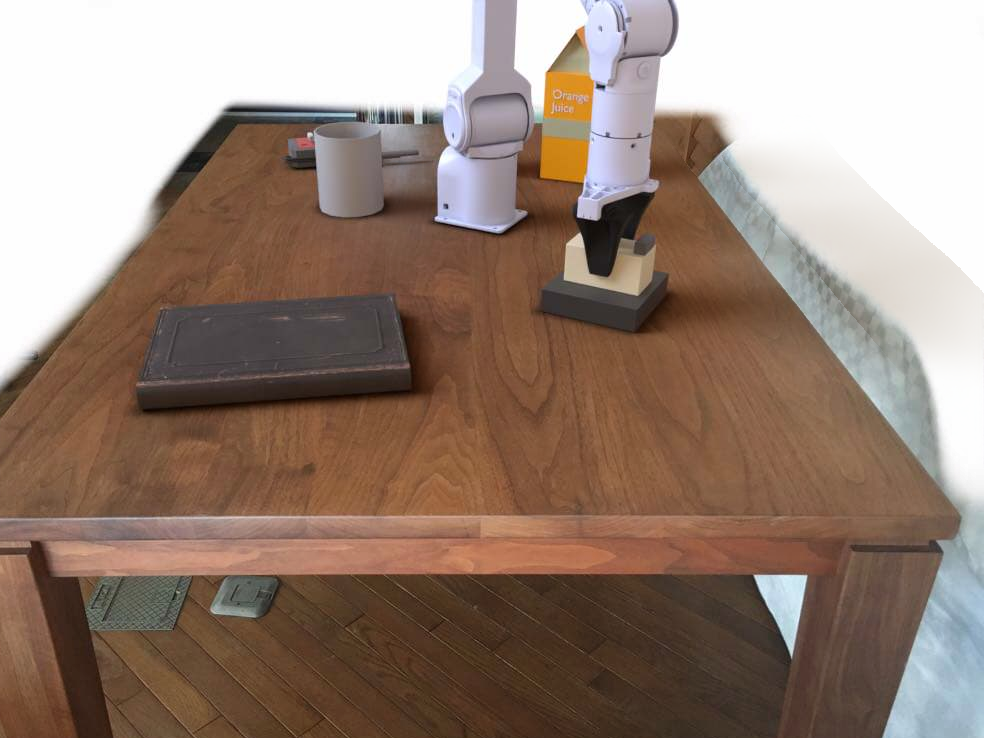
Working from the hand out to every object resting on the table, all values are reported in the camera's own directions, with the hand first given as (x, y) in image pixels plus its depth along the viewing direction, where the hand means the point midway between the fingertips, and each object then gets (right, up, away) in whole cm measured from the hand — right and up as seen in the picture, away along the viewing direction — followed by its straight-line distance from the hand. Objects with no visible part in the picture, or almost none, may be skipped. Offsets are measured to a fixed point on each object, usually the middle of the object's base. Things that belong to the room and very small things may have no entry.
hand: (608, 266), depth 91 cm
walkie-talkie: (-31, +23, +46) cm, 60 cm away
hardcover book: (-32, -10, -8) cm, 34 cm away
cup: (-29, +12, +28) cm, 42 cm away
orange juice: (+2, +20, +40) cm, 45 cm away
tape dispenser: (0, -1, +1) cm, 2 cm away
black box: (0, -3, +2) cm, 4 cm away
